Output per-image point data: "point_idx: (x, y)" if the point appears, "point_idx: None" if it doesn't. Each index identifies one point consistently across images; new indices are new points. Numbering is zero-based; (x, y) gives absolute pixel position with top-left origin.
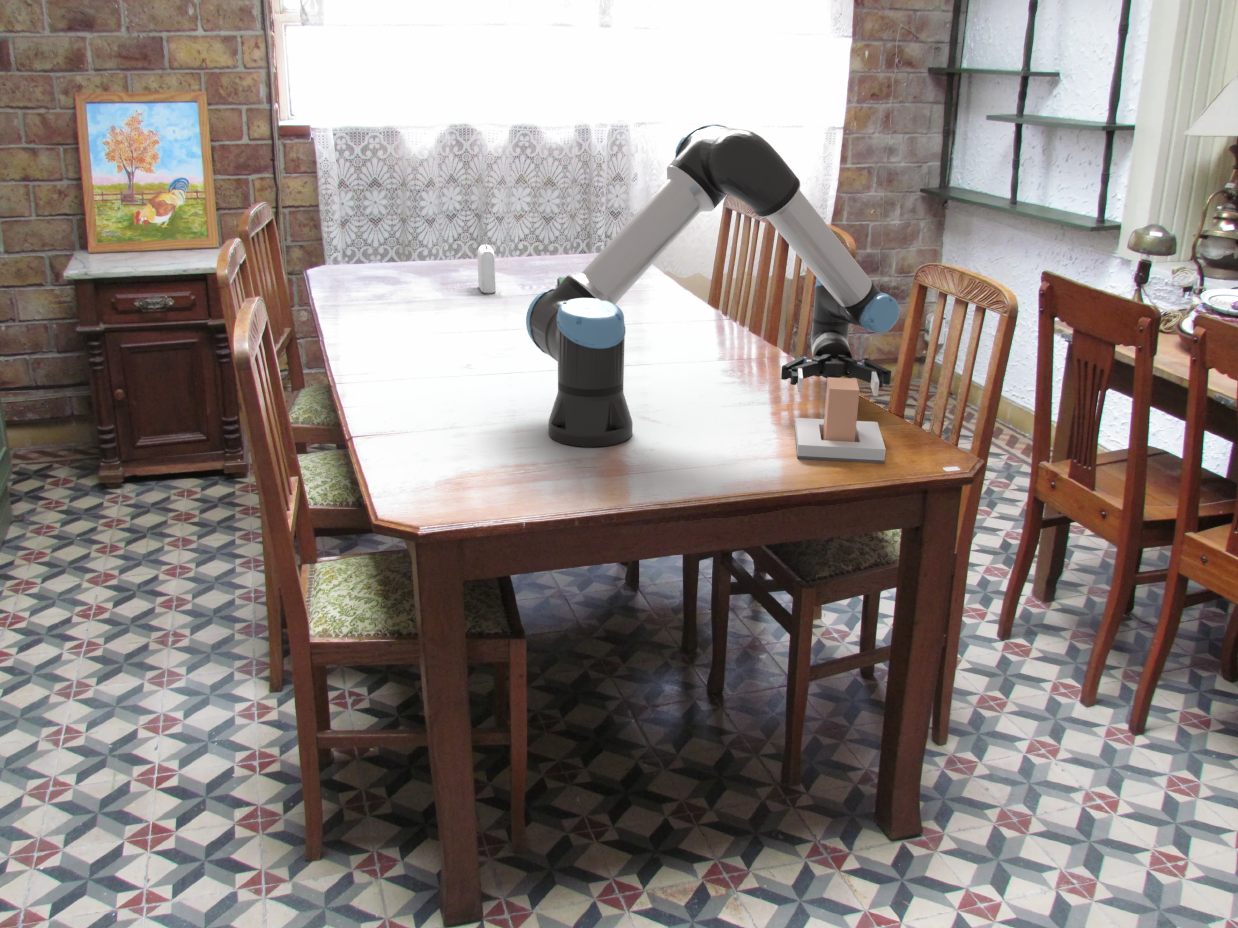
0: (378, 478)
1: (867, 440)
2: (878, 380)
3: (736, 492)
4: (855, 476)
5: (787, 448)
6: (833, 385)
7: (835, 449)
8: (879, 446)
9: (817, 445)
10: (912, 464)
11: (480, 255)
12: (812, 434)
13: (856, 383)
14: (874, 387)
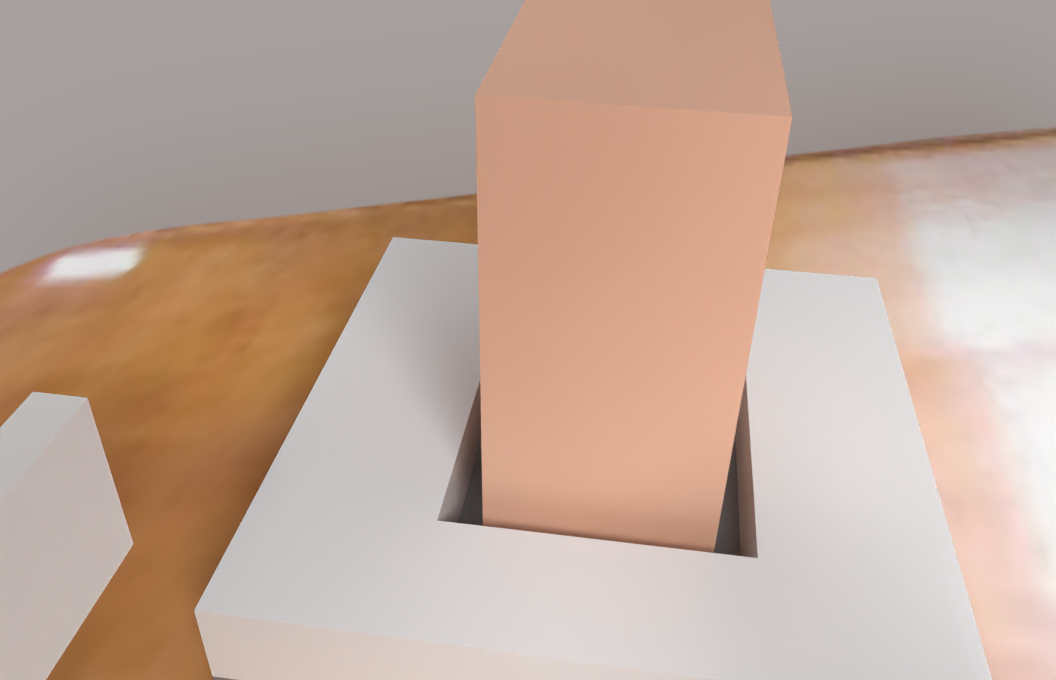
0: None
1: (449, 318)
2: (2, 430)
3: (1042, 149)
4: None
5: (943, 462)
6: (734, 20)
7: None
8: (411, 261)
9: (766, 271)
10: (255, 297)
11: None
12: (803, 390)
13: (516, 37)
14: (101, 471)
